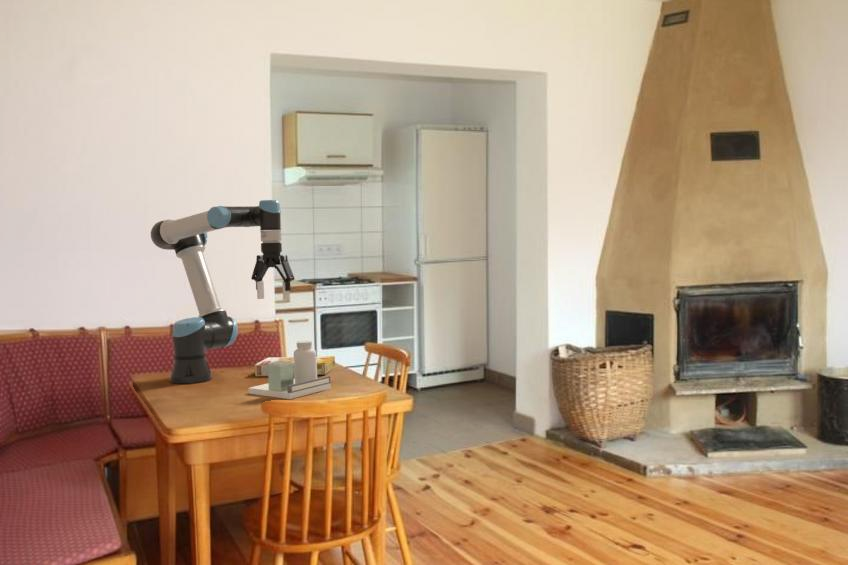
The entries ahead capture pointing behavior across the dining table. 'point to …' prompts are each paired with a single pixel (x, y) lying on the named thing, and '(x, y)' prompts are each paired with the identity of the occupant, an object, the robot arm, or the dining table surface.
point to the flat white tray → (294, 389)
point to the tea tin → (280, 375)
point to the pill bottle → (305, 362)
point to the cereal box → (323, 364)
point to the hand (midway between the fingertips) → (273, 299)
